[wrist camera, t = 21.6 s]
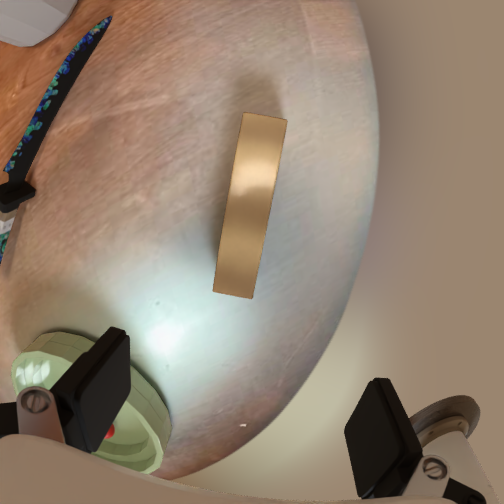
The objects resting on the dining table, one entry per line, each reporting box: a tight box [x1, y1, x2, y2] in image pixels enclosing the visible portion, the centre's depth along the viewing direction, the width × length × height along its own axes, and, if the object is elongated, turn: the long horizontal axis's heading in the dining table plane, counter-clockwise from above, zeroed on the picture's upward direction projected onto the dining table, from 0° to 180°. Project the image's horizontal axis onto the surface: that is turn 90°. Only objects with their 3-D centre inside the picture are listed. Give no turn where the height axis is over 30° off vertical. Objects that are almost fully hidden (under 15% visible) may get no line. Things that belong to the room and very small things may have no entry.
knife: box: [0, 16, 112, 264], centre depth 21 cm, size 31×3×4 cm, turn 143°
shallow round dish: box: [11, 331, 172, 474], centre depth 28 cm, size 21×21×5 cm
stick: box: [213, 112, 287, 299], centre depth 22 cm, size 13×3×3 cm, turn 170°
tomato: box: [104, 424, 115, 439], centre depth 29 cm, size 3×3×3 cm
